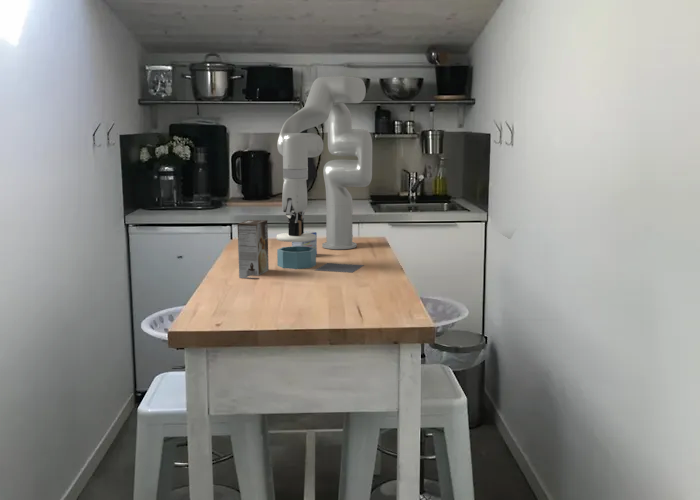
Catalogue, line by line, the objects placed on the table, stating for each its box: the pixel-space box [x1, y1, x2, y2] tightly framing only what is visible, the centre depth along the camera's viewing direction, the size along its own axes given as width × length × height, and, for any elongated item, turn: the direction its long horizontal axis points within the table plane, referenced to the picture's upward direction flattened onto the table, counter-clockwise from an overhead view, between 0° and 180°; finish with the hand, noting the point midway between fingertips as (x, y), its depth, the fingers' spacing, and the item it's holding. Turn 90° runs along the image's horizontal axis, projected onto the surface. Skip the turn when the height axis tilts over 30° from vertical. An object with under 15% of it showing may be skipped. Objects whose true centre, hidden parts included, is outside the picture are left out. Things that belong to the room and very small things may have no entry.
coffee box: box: [236, 219, 270, 280], centre depth 212 cm, size 9×6×16 cm
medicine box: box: [291, 230, 318, 256], centre depth 241 cm, size 8×4×9 cm, turn 143°
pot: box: [276, 245, 317, 270], centre depth 224 cm, size 11×11×6 cm
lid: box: [276, 220, 316, 243], centre depth 222 cm, size 12×12×6 cm
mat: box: [315, 262, 365, 274], centre depth 220 cm, size 12×12×1 cm
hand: (296, 234), depth 222 cm, fingers closed on lid, 3 cm apart
